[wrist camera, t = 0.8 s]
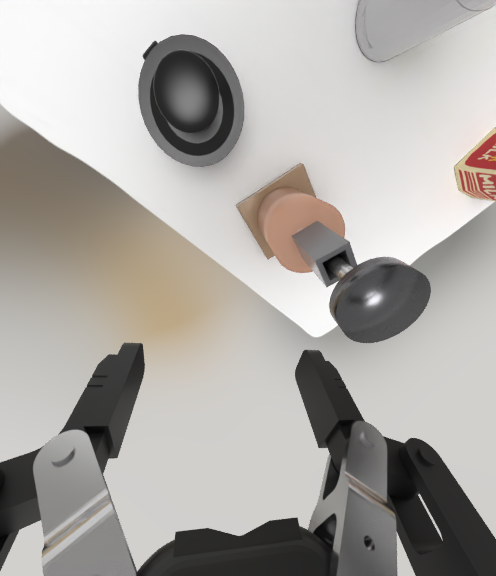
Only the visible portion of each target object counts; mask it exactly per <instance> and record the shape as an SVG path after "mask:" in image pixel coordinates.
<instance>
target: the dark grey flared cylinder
mask: <svg viewBox="0 0 496 576" xmlns="http://www.w3.org/2000/svg"><path fill="white" fill-rule="evenodd" d="M143 58H144V59H145V62H144V64H143V67H142V70H141V73H140V79H139V85H138V86H139V104H140V109H141V114H142V117H143V120H144V123H145V125H146V127H147V129H148V131H149V133H150V135H151V136H152V138H153V139H154V141H155V142H156V143H157V145H158V146H159V147H160V148H161V149H162V150H163V151H164V152H165V153H166V154H167V155H169V156H170V157H172V158H173V159H174V160H176V161H178V162H181V163H183V164H186V165H190V166H199V167H203V166H208V165H212V164H214V163H216V162H219V161H220V160H222V159H223V158H224V157H226V156H227V155H228V154H229V153H230V151H231V150H232V149H233V148H234V146H235V144H236V143H237V141H238V139H239V136H240V133H241V130H242V126H243V120H244V101H243V93H242V90H241V86H240V83H239V80H238V77H237V75H236V73H235V71H234V69H233V67H232V66H231V64H230V63H229V61H228V60H227V58H226V57H225V56H224V55H223V54H222V53H221V52H220V51H219V50H218V49H217V48H216V47H215V46H214V45H212V44H211V43H209V42H208V41H206V40H204V39H201V38H199V37H196V36H193V35H183V34H182V35H176V36H171V37H169V38H167V39H165V40H163V41H161V42H160V43H157V42H156V41H154V42H153V43H152V44H151V46H150V47H149V48H148V49H147V50H146V51H145V53H144V54H143Z"/></svg>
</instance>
